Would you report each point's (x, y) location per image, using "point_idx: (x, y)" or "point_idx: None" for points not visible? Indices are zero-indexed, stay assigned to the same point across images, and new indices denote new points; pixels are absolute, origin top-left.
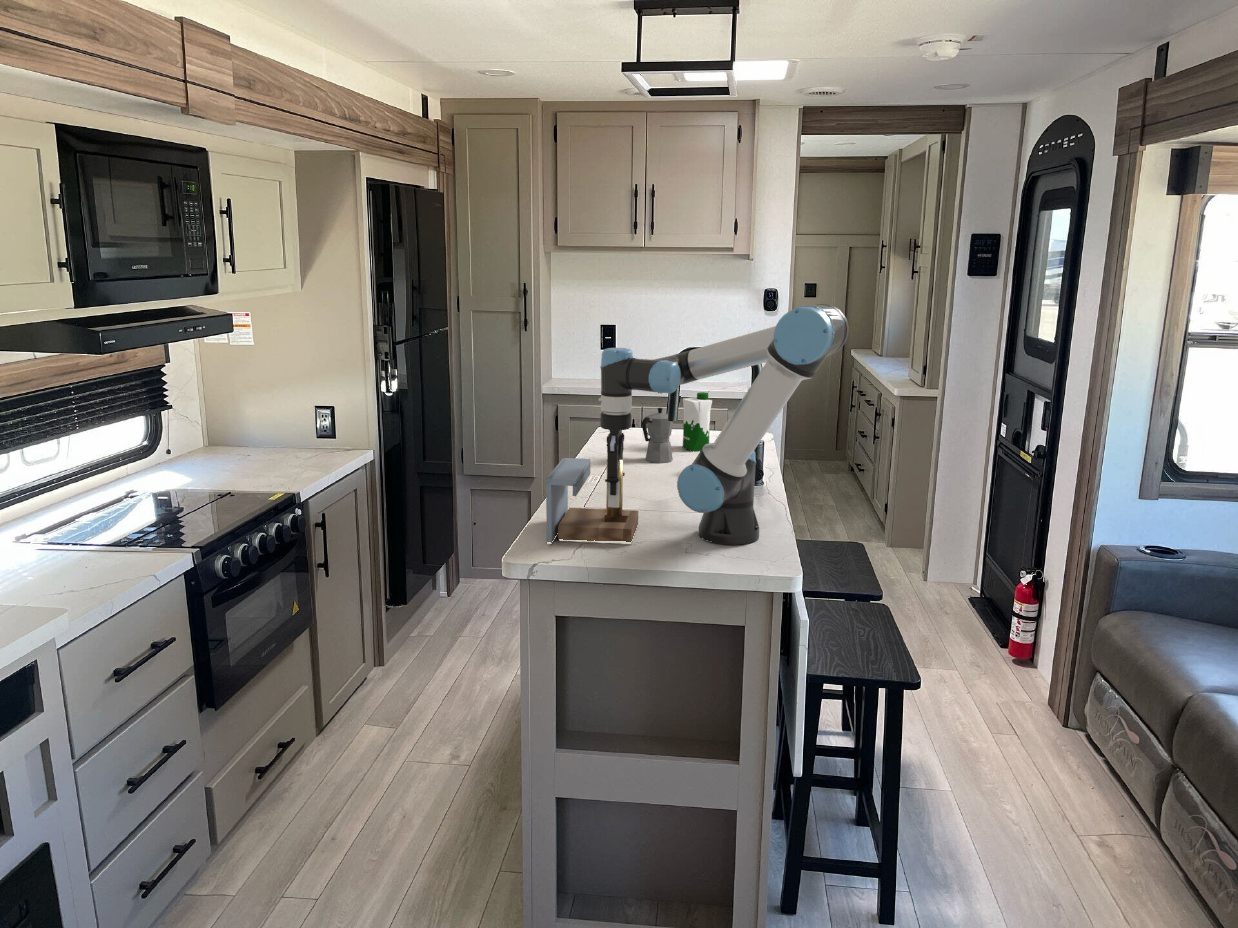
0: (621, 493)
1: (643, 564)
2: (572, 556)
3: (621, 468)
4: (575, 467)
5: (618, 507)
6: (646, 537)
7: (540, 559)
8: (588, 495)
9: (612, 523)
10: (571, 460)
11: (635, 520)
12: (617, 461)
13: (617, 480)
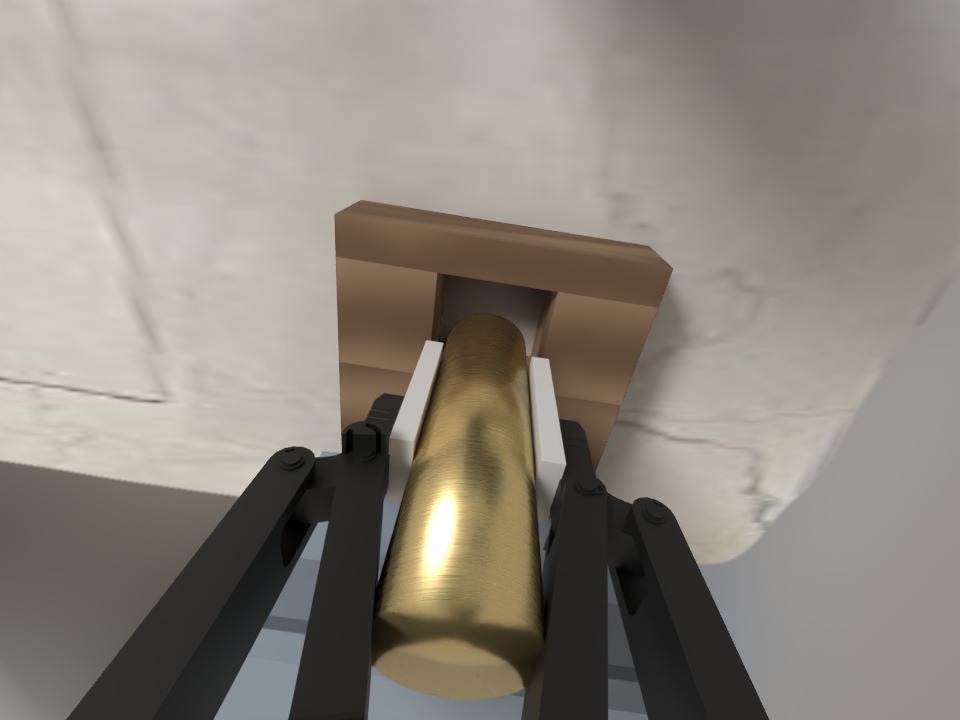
0: (507, 383)
1: (936, 202)
2: (731, 445)
3: (513, 535)
4: (403, 706)
5: (547, 360)
6: (545, 166)
7: (732, 517)
8: (4, 385)
9: (566, 350)
10: (226, 706)
11: (474, 233)
12: (743, 715)
13: (663, 508)
